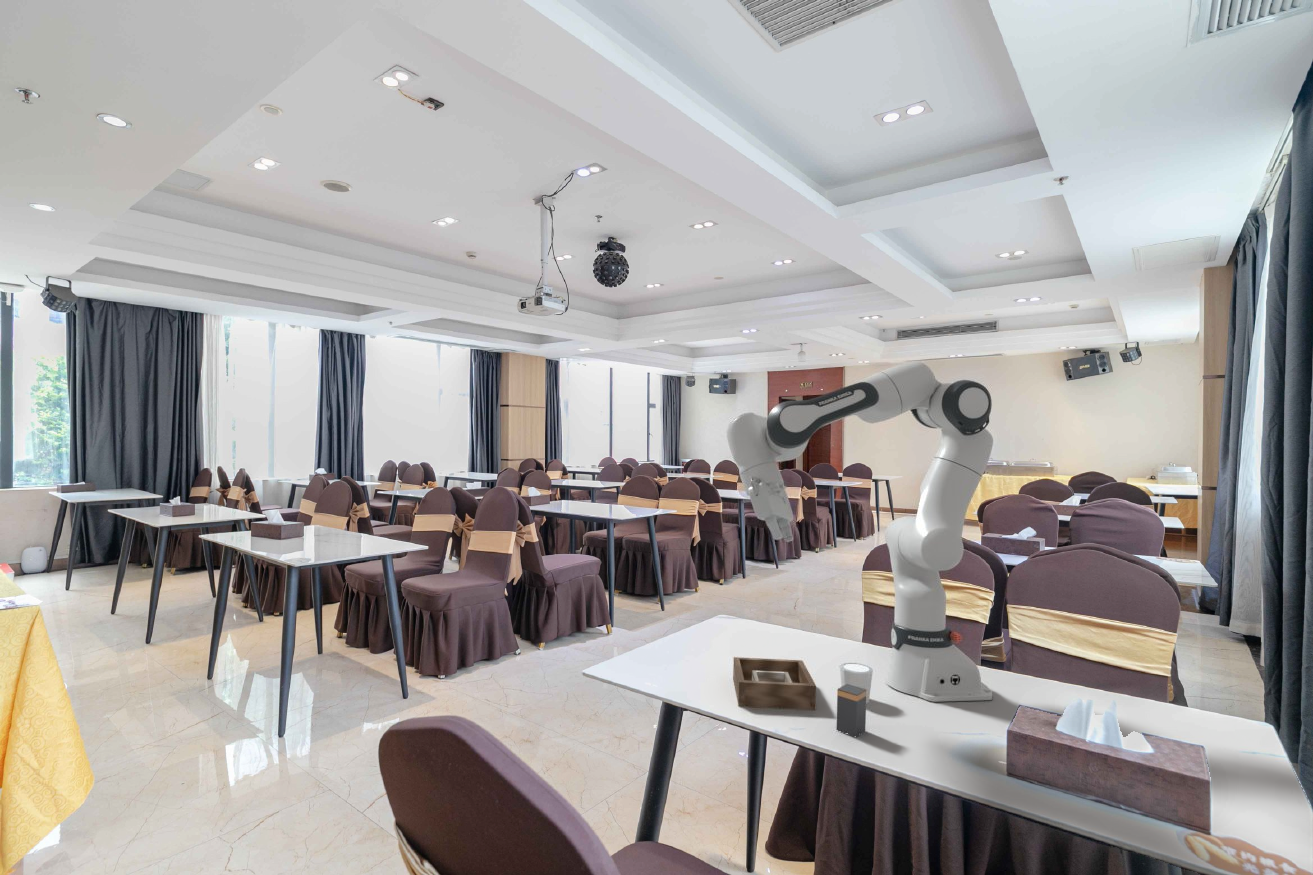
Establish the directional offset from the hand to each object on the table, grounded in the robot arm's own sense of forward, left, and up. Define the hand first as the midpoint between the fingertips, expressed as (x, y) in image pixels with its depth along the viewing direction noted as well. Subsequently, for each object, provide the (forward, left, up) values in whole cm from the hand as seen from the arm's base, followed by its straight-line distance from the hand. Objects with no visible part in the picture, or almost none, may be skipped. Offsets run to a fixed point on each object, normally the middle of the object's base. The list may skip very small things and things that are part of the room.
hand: (784, 539), depth 138 cm
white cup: (-16, -1, -35) cm, 38 cm away
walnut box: (+2, -2, -34) cm, 34 cm away
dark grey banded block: (-11, +15, -34) cm, 39 cm away
